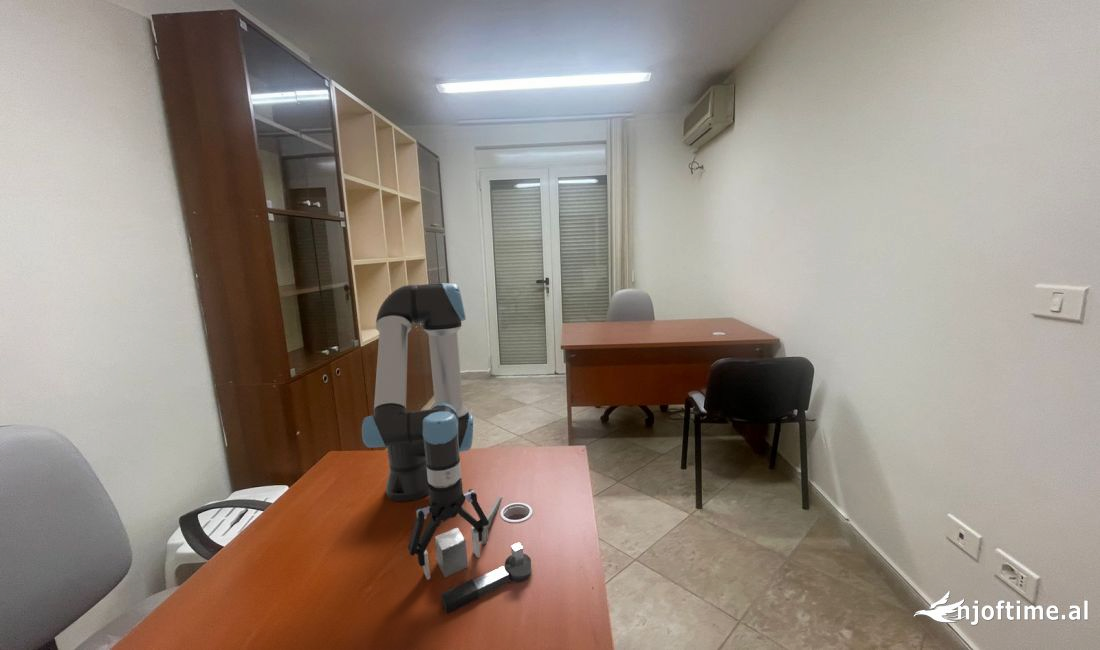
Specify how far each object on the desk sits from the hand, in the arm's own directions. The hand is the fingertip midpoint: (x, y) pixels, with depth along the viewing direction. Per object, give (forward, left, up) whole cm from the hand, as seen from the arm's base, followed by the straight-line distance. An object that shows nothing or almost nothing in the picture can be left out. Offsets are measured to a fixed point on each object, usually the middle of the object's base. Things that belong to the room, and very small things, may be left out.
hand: (452, 564), depth 97 cm
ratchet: (+11, +5, 0) cm, 12 cm away
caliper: (-10, +15, -1) cm, 18 cm away
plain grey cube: (0, 0, 0) cm, 0 cm away
